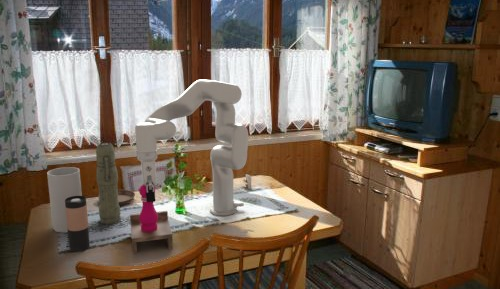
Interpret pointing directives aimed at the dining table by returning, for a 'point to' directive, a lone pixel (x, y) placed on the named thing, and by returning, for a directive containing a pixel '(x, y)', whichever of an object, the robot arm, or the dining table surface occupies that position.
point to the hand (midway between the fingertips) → (150, 197)
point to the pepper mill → (147, 213)
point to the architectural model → (247, 181)
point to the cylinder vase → (62, 193)
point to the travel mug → (77, 223)
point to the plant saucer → (125, 196)
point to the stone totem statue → (107, 184)
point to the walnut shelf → (160, 233)
